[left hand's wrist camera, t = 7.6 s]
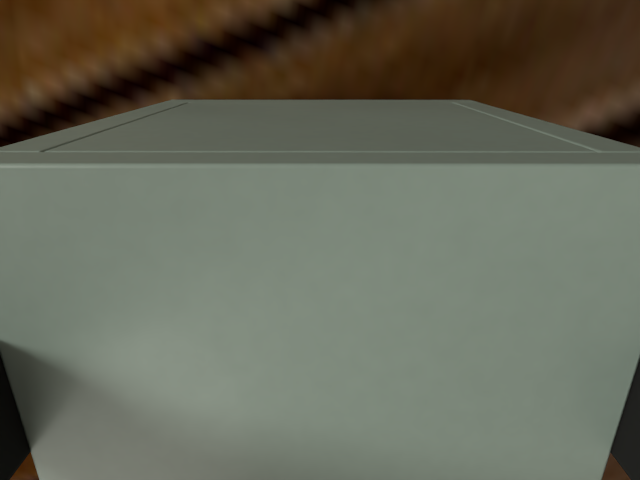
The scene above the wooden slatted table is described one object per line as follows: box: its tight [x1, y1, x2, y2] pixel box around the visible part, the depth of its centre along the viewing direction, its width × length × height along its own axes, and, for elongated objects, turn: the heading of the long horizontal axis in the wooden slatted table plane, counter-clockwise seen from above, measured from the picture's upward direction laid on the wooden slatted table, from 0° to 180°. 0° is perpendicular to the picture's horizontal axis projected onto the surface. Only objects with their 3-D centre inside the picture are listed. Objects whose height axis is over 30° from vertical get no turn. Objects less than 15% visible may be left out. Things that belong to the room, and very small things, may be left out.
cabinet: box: [0, 100, 640, 480], centre depth 16 cm, size 22×12×12 cm, turn 0°
